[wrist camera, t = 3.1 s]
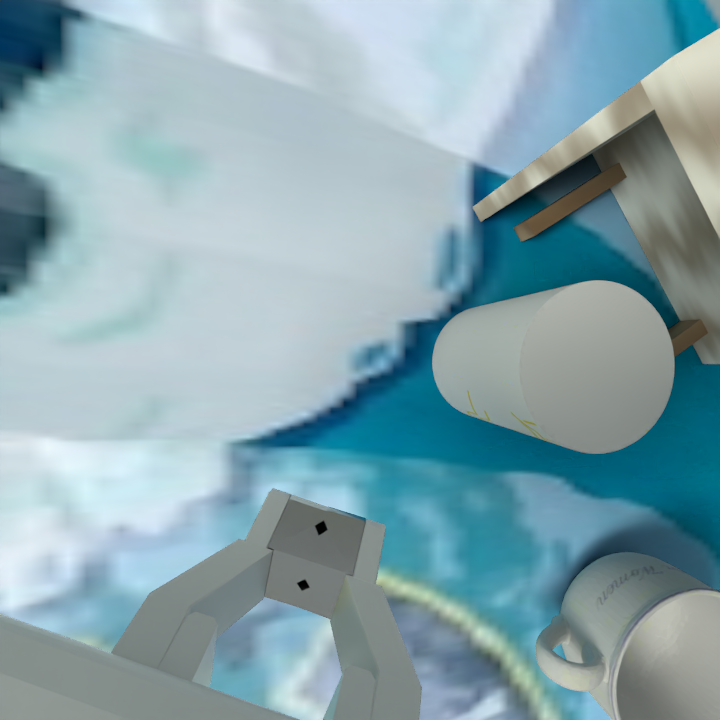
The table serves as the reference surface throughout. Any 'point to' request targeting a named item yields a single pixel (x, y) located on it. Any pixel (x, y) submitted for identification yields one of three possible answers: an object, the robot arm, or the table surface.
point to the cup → (561, 365)
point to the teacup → (638, 640)
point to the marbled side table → (652, 183)
